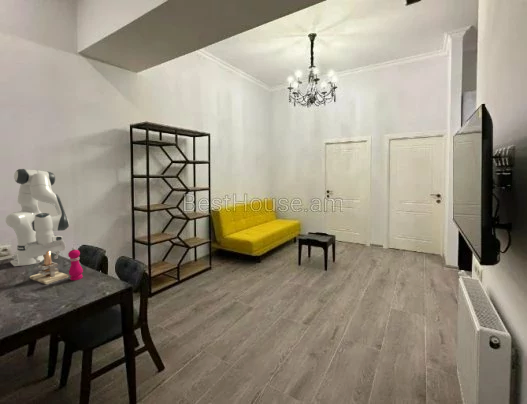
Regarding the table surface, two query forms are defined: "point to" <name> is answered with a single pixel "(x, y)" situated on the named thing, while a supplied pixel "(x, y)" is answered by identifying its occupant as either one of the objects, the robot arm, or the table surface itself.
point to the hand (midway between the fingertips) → (47, 260)
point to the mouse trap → (53, 273)
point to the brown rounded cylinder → (47, 261)
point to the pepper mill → (75, 265)
